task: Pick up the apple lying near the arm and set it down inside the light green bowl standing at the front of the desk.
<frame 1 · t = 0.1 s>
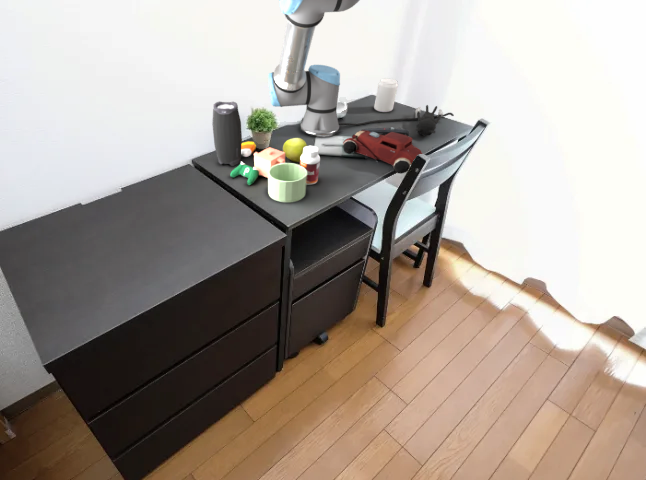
toy: (430, 107, 163), point 2 cm above the table
toy car: (382, 161, 132), on the table
portable speaker: (229, 161, 134), on the table
light green bowl: (286, 192, 118), on the table
white cylindrical container: (383, 110, 168), on the table
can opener: (382, 141, 144), on the table
pill bottle: (308, 181, 123), on the table
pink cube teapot: (268, 173, 127), on the table
apple: (295, 161, 133), on the table
candy corn: (249, 144, 140), point 2 cm above the table
gaming controller: (245, 178, 125), on the table
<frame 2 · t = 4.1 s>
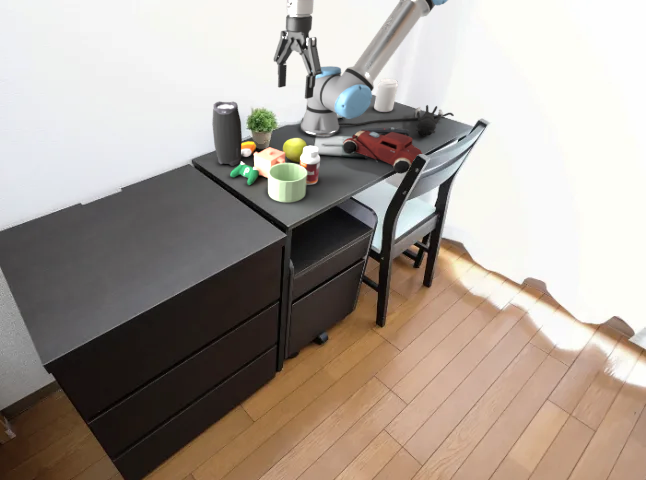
hand: (294, 92, 122), 22 cm above the table, tool pointing down, fingers open, 13 cm apart
nothing on the table moved.
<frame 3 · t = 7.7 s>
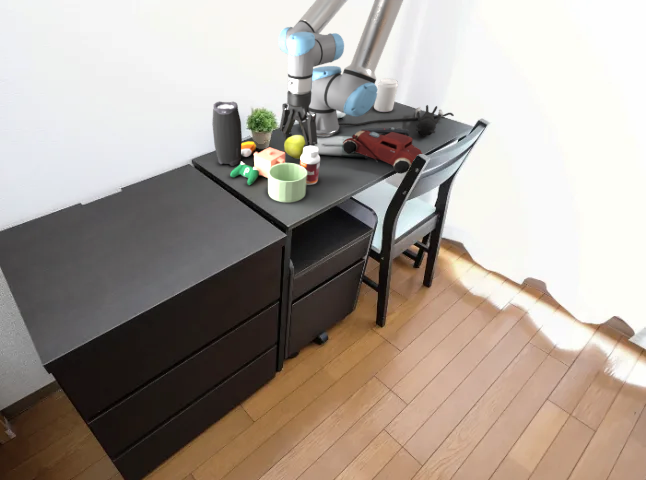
hand: (297, 157, 133), 1 cm above the table, tool pointing down, fingers closed on apple, 9 cm apart
apple: (297, 158, 133), point 1 cm above the table, touching gripper
everything else where it was.
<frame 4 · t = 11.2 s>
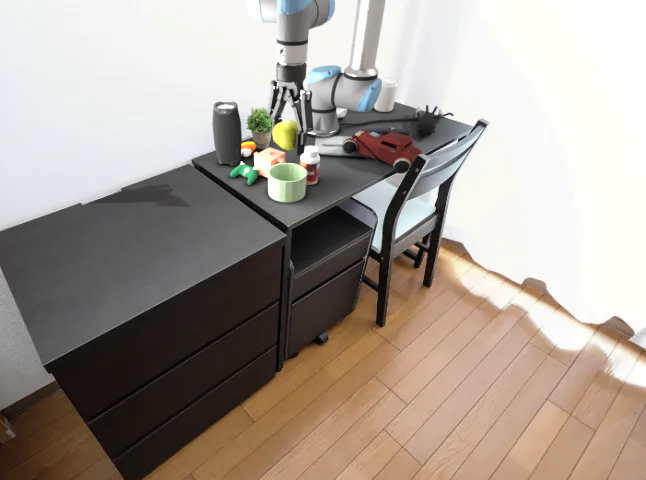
hand: (288, 148, 108), 15 cm above the table, tool pointing down, fingers closed on apple, 9 cm apart
apple: (288, 149, 108), point 14 cm above the table, touching gripper
everything else where it was.
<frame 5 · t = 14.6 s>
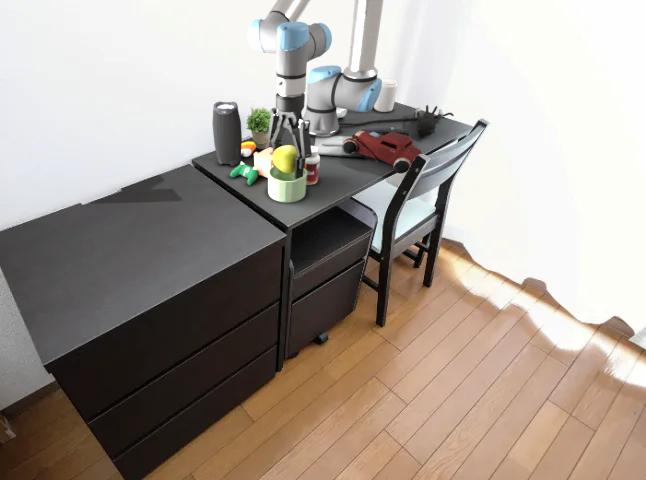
hand: (287, 170, 113), 7 cm above the table, tool pointing down, fingers closed on apple, 9 cm apart
apple: (287, 172, 113), point 7 cm above the table, touching gripper
everything else where it was.
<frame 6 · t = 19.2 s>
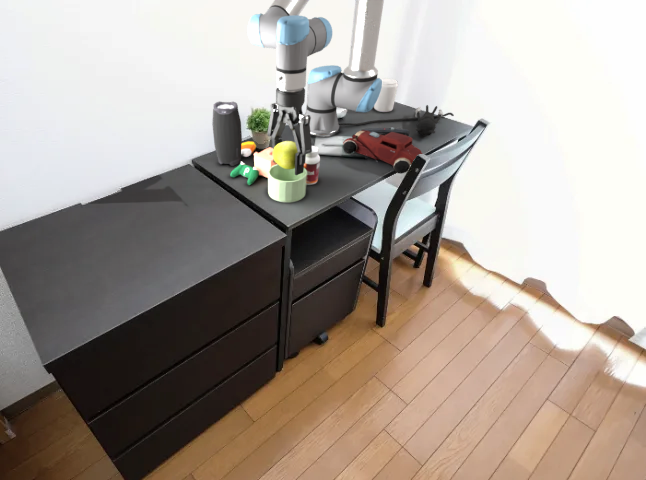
hand: (287, 167, 112), 9 cm above the table, tool pointing down, fingers closed on apple, 9 cm apart
apple: (288, 168, 112), point 8 cm above the table, touching gripper
everything else where it was.
when the fingers open (9 cm above the table, at t = 23.4 s): apple drops 8 cm, resting on light green bowl.
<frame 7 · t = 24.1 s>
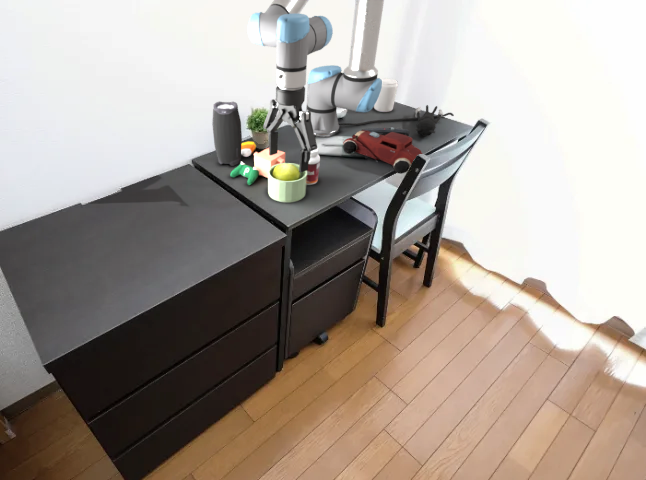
hand: (287, 162, 111), 10 cm above the table, tool pointing down, fingers open, 13 cm apart
apple: (286, 188, 118), point 1 cm above the table, touching light green bowl
everything else where it was.
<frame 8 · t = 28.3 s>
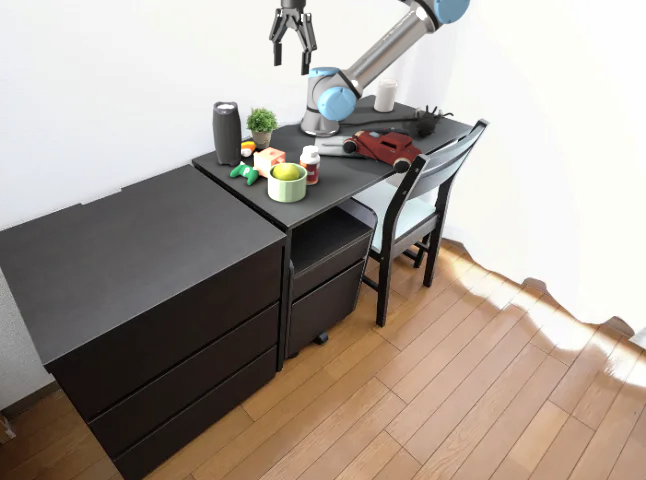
hand: (290, 70, 124), 27 cm above the table, tool pointing down, fingers open, 13 cm apart
nothing on the table moved.
at the end: apple inside the target area in the light green bowl (1.1 cm from its centre), point 0.7 cm above the light green bowl's base; the gripper is holding nothing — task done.
